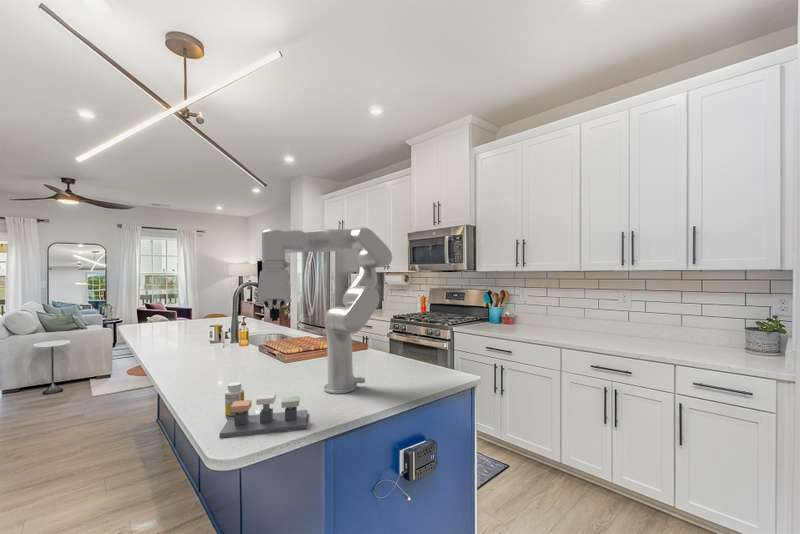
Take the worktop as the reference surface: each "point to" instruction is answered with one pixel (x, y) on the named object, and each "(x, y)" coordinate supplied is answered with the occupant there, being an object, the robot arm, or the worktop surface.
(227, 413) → the supplement bottle
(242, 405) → the key
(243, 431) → the keypad board
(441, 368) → the worktop surface
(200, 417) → the worktop surface
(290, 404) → the green key
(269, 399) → the key mid
